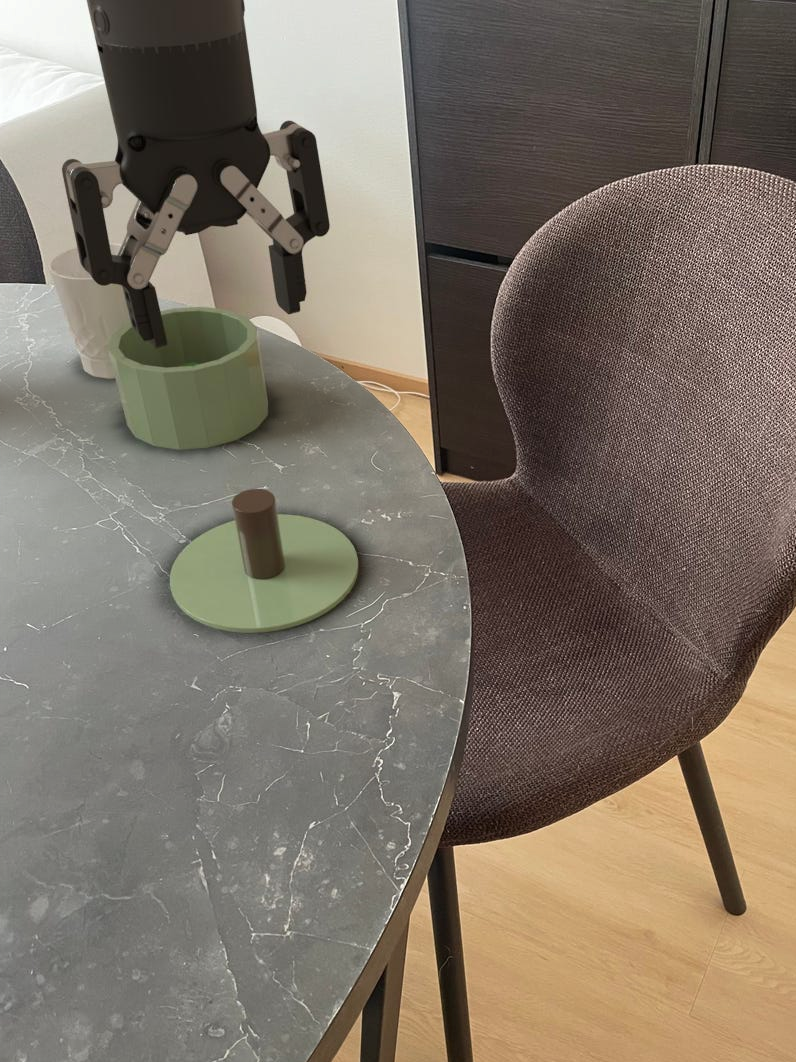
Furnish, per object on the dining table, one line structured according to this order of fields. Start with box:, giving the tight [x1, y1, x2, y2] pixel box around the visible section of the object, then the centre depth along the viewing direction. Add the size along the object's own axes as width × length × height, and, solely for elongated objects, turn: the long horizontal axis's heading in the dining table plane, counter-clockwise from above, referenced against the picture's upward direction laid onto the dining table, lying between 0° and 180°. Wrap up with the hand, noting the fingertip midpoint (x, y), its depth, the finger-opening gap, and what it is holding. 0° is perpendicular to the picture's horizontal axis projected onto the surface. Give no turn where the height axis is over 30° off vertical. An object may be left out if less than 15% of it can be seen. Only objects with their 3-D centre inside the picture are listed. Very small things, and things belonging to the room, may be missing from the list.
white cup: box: [48, 242, 131, 380], centre depth 92 cm, size 8×8×10 cm
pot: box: [108, 306, 269, 451], centre depth 86 cm, size 12×12×8 cm
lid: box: [169, 488, 359, 634], centre depth 70 cm, size 13×13×7 cm
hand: (224, 325), depth 64 cm, fingers open, 8 cm apart
